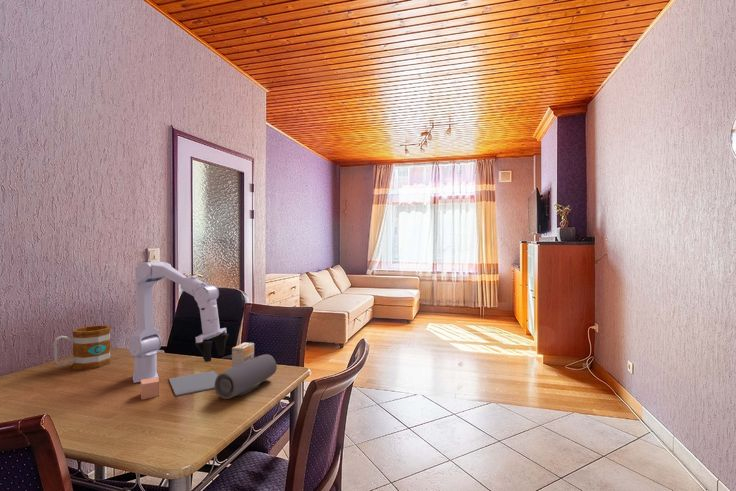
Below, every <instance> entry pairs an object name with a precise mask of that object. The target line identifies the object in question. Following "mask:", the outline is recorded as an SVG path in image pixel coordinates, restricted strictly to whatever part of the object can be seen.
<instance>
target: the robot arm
mask: <svg viewBox="0 0 736 491" xmlns="http://www.w3.org/2000/svg"><path fill="white" fill-rule="evenodd" d="M134 271H135V272H134V273H135V281H134V284H135V305H136V306H135V309H136V330H135V331H134V332H133V333H132V334H131V335H130V336H129V337H130V342H129V344H128V351H129V353H130V354H131V355H132V357H133V358H134V362H133V364H134V365H133V366H134V367H133V369H134V370H133V374H132V382H133V383H134V384H135V383H141V380H142V379H148V378H154V377H158V379H159V378H160V377H159V374H158V372H157V369H158V368H157V367H158V366H157V364H158V363H157V358H158V357H157V356H158V353H159V350H160V349H161V347H162V344H163V342H162V338H161V335H160V334H161V333H160V331H159V329H157V328H155V322H154V321H155V320H154V298H153V295H154V294H153V286H155V284H157V283H158V282H159V281H161V280H163V279H165V278H166V279H168V280H169V281H172V282H174V283H176V284H178V285H180V289H181V290H182V291H183V292H185V293H187V294H188V295H190V296H192V297H193V298H194V301H196V303H197V307H198V309H199V314H200V322H201V330H202V333H201V334H199V335H198V336H195V342H194V346H195V347H196V348H197V349H198V350H199V352H200V354H201V356H202V359H203V361H204V362H205V363H208V362H212V346H213V342H214V345H215V348H216V352H217V356H218V357H219V356H221V357H222V356H225V355H226V353H225V352H226V346H227V341H228V338H229V336H230V335H229V333H227V327H222V328H221V327H220V326H221V325H220V318H219V309H218V304H217V303H218V301H217V300H218V298H219V296H220V291H219V288H218V287H217V286H216V285H215V284H207V282H205V281H204V282H203V281H201V280H200V279H197V276H196V275H188V276H186V275H185V274H183V273H182V272H180V271H179V270H177V269H176V268H174V267H173V266H172V264H171V263H168V262H167V261H164V260H160V261H148V262H147V261H146V262H145V261H142V262H141V263H139V264H138V265H137V266H136V267H135V270H134ZM210 339H212V340H210Z"/></svg>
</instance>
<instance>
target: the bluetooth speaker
mask: <svg viewBox="0 0 736 491" xmlns="http://www.w3.org/2000/svg"><path fill="white" fill-rule="evenodd" d="M277 367H278V366H277V362H276V359H275V358H274V356H272V355H270V354H268V353H267V354H261V355H258V356H254V358H252V359H250V360H247V361H245V362H243V363H240V364H238V365H236V366H234V367H232V366H231V367H230V368H228V369H226V370H224V371H223V372H221V373H219V374H217V375H218V376H217V378H216V380H215V389H214V390H215V392H216V394H217V395H218V397H220V398H221V399H224V400H225V399H226V400H227V399H231V398H234V397H236V396H239V397H241V396H243V395H246V394H248V393H250V392H251V391H254V390H256V389H257V388H258V387H259V386H260V384H261V383H263V382H265V381H266V380H268V379H269V378H270V377H272V376H273V375H274V374H275V373H276V371H277Z"/></svg>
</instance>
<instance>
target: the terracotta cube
mask: <svg viewBox="0 0 736 491" xmlns="http://www.w3.org/2000/svg"><path fill="white" fill-rule="evenodd" d="M158 377H159V376H158ZM158 377H154V378H148V379H142V380H141V382H140V398H141V400H146V399H151V398H156V397H160V379H159V378H158Z"/></svg>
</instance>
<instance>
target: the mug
mask: <svg viewBox="0 0 736 491" xmlns="http://www.w3.org/2000/svg"><path fill="white" fill-rule="evenodd" d="M72 336H73V337H72V338H70V337H69V336H66V335H59V336H58V337H55V339H54V341H53V343H52V347H53V356H54V357H53V358H54V362H55V363H56V365H57V366H66V365H68V364H71V363H72V368H71V369H72V370H80V371H83V370H92V369H99V368H102V367H104V366H108V365H110V364H111V362H112V359H111V344H112V343H111V325H108V324H107V325H106V324H104V325H103V324H99V325H98V324H96V325H87V326H82V327H78V328H74V329H73V330H72ZM61 339H63V340H64V339H65V340H66V341H67V342H70V343H72V357H73V358H72V359H71V358H70V359H67V360H65V361H64V362H60V360H59V348H58V341H60V340H61Z"/></svg>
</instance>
